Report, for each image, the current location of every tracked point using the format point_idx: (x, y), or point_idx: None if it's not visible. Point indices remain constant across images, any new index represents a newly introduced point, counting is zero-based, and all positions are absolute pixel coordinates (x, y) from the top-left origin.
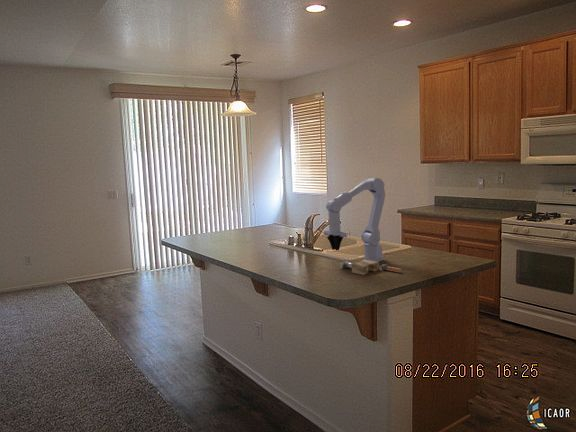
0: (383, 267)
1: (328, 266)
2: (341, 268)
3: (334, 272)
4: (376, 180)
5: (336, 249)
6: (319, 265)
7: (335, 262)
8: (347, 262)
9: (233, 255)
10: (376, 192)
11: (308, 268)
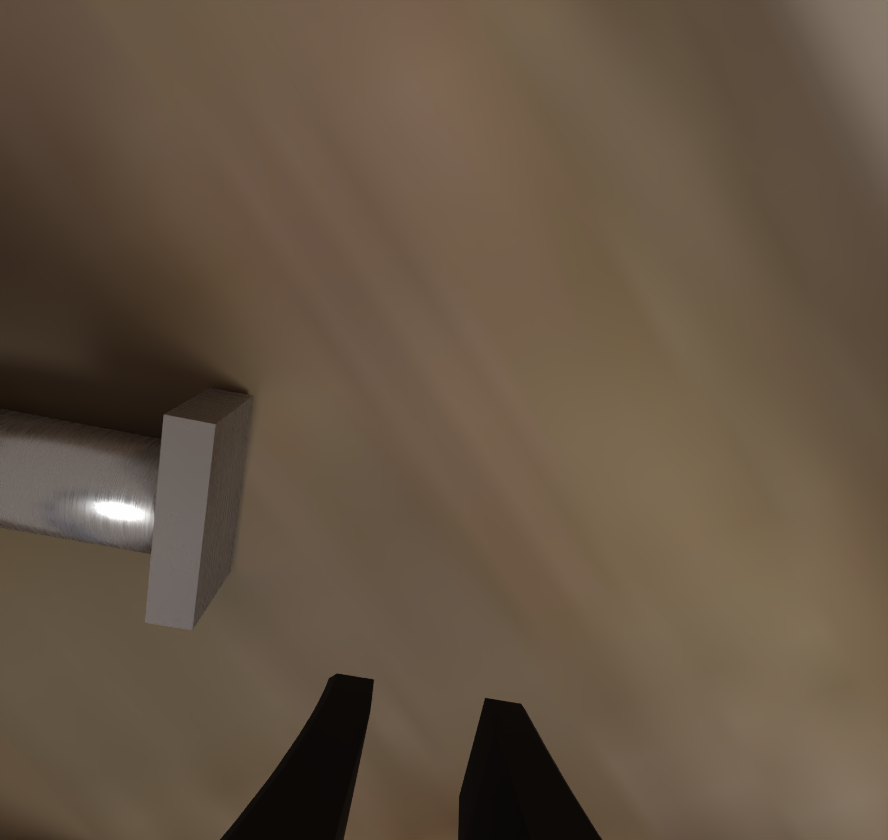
0: None
1: (544, 448)
2: (230, 391)
3: (182, 93)
4: None
5: (326, 690)
6: (733, 446)
7: (576, 712)
8: (96, 498)
9: None
10: None
11: (830, 158)
